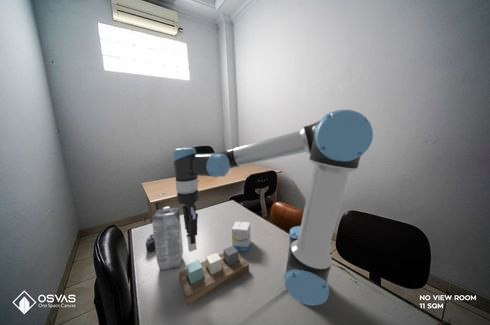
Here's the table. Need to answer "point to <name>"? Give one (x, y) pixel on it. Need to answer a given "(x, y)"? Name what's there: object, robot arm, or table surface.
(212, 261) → the key ivory
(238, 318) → the table surface
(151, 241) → the camera
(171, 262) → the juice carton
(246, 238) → the ink box
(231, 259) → the block
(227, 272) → the keypad base
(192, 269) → the key teal
